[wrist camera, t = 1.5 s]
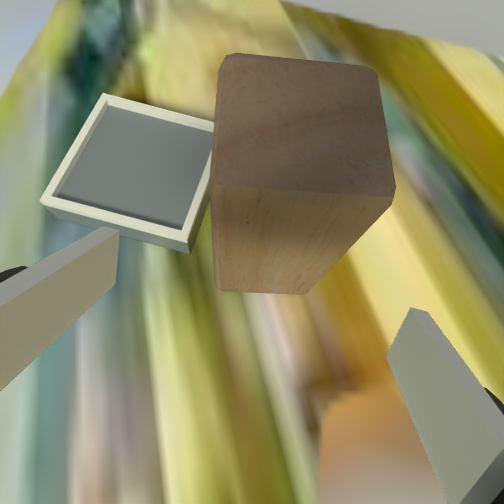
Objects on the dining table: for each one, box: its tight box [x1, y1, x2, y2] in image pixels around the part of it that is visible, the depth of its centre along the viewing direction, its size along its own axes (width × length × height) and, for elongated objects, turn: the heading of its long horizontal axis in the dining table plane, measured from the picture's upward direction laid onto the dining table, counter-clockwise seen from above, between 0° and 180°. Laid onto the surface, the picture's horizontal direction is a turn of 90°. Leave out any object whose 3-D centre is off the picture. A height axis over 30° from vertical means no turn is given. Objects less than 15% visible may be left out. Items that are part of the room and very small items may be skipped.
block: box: [209, 53, 396, 295], centre depth 27 cm, size 10×10×20 cm
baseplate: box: [39, 93, 214, 254], centre depth 37 cm, size 15×15×4 cm
